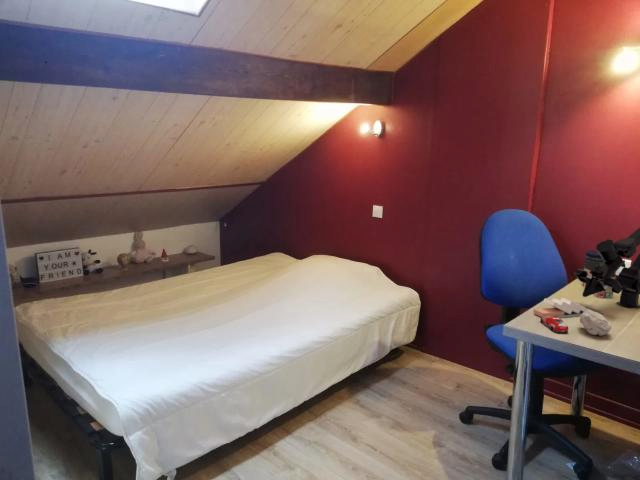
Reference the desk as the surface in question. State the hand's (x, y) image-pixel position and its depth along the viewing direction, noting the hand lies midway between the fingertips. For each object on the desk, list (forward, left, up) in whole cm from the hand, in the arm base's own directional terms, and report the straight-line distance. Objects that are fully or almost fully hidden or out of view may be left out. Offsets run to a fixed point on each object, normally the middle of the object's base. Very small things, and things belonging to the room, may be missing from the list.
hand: (583, 296), depth 188 cm
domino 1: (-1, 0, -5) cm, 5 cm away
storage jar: (-43, -35, -7) cm, 56 cm away
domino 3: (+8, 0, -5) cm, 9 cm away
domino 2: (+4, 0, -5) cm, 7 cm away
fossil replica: (+14, +19, -7) cm, 25 cm away
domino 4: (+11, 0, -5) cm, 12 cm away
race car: (+24, +11, -7) cm, 27 cm away
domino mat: (+4, 0, -7) cm, 8 cm away
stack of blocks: (-31, -22, -7) cm, 38 cm away
